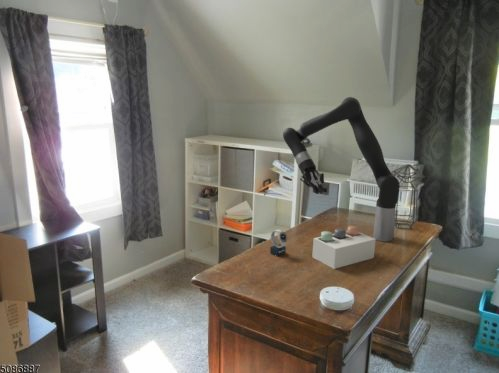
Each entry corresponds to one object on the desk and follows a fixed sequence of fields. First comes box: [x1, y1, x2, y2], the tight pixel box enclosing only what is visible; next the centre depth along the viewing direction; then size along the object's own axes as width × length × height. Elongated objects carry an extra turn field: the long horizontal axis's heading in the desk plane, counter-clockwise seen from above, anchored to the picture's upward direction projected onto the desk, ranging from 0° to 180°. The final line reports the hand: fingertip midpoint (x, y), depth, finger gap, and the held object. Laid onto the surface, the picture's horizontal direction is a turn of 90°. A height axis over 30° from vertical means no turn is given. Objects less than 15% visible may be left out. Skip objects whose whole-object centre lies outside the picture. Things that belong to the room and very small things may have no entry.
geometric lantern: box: [390, 164, 426, 230], centre depth 227 cm, size 16×16×35 cm
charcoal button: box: [333, 227, 347, 240], centre depth 186 cm, size 5×5×4 cm
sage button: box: [320, 230, 334, 243], centre depth 182 cm, size 5×5×4 cm
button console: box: [311, 230, 377, 270], centre depth 185 cm, size 24×14×9 cm, turn 122°
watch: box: [269, 229, 288, 257], centre depth 187 cm, size 6×8×11 cm
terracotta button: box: [346, 225, 360, 237], centre depth 190 cm, size 5×5×4 cm
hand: (320, 192), depth 194 cm, fingers closed
